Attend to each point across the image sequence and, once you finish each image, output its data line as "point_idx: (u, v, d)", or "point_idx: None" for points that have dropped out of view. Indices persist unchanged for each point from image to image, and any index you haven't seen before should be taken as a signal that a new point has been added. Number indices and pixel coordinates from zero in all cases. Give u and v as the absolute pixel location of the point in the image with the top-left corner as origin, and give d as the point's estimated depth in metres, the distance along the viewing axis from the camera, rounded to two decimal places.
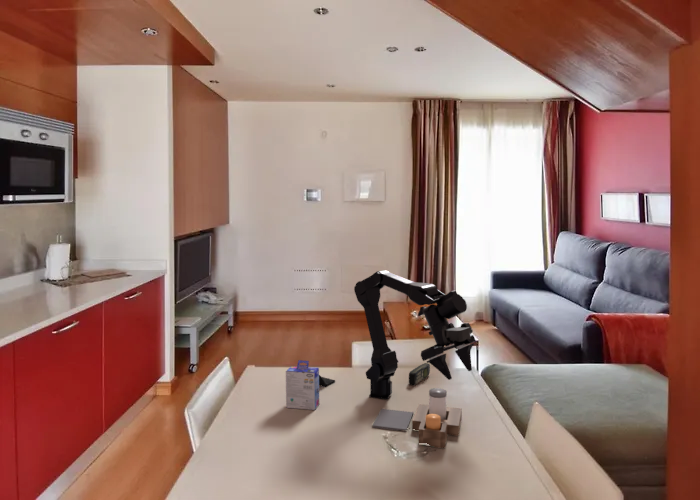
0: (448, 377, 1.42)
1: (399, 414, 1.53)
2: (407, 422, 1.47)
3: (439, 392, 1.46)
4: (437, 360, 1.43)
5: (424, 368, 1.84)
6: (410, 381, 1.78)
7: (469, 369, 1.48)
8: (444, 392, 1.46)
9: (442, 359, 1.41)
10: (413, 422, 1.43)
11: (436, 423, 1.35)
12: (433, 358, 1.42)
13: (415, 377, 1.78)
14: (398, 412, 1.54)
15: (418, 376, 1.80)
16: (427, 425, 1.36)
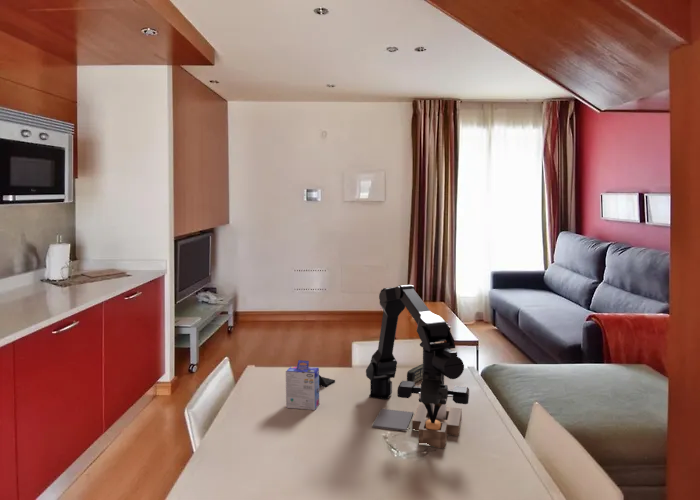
0: None
1: (399, 414, 1.53)
2: (407, 422, 1.47)
3: None
4: None
5: None
6: (408, 380, 1.79)
7: None
8: None
9: (424, 404, 1.35)
10: (413, 422, 1.43)
11: (436, 429, 1.35)
12: None
13: (413, 376, 1.79)
14: (398, 412, 1.54)
15: (416, 375, 1.81)
16: None
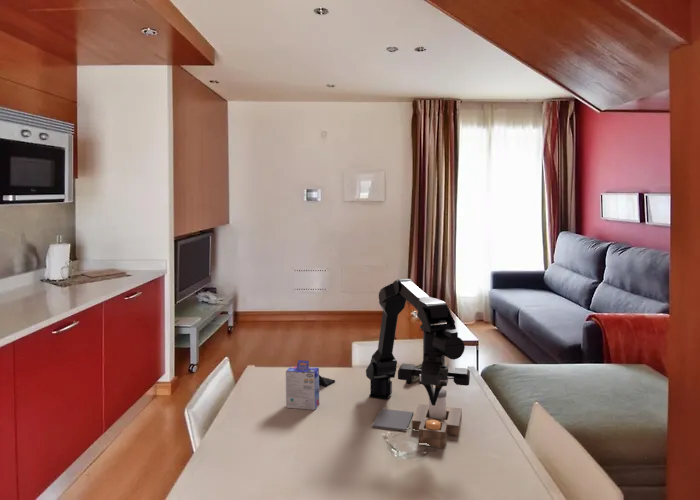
0: None
1: (399, 414, 1.53)
2: (407, 422, 1.47)
3: (439, 392, 1.46)
4: None
5: None
6: None
7: None
8: (444, 392, 1.46)
9: (425, 386, 1.34)
10: (413, 422, 1.43)
11: (436, 429, 1.35)
12: None
13: (412, 376, 1.80)
14: (398, 412, 1.54)
15: None
16: None
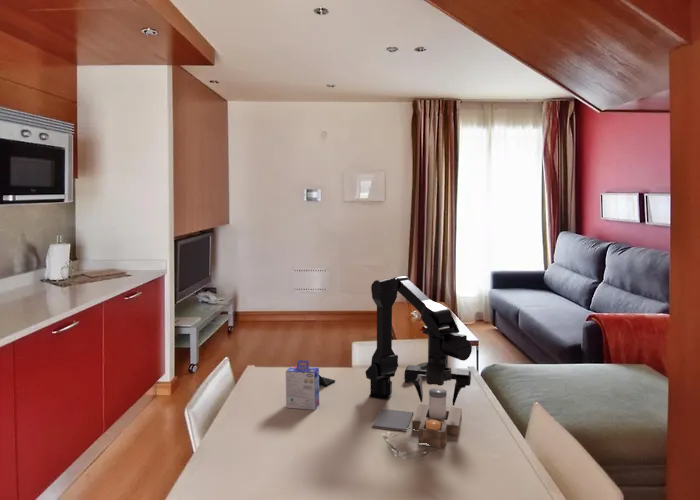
0: None
1: (399, 414, 1.53)
2: (407, 422, 1.47)
3: (439, 392, 1.46)
4: None
5: (423, 367, 1.85)
6: None
7: (453, 403, 1.46)
8: (444, 392, 1.46)
9: (414, 384, 1.46)
10: (413, 422, 1.43)
11: (436, 429, 1.35)
12: None
13: None
14: (398, 412, 1.54)
15: None
16: None
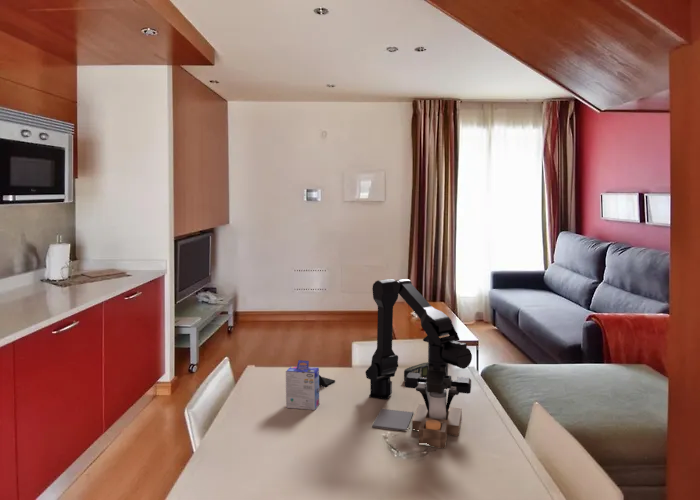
0: None
1: (399, 414, 1.53)
2: (407, 422, 1.47)
3: None
4: None
5: (423, 367, 1.85)
6: (404, 378, 1.82)
7: None
8: (444, 392, 1.46)
9: (421, 392, 1.46)
10: (413, 422, 1.43)
11: (436, 429, 1.35)
12: None
13: None
14: (398, 412, 1.54)
15: None
16: None
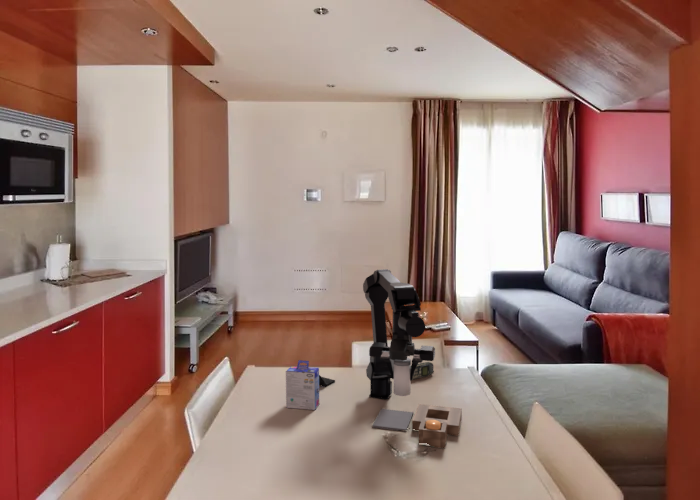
0: None
1: (399, 414, 1.53)
2: (407, 422, 1.47)
3: None
4: None
5: (423, 366, 1.86)
6: None
7: None
8: (408, 360, 1.47)
9: (385, 361, 1.47)
10: (413, 422, 1.43)
11: (436, 429, 1.35)
12: None
13: None
14: (398, 412, 1.54)
15: None
16: None
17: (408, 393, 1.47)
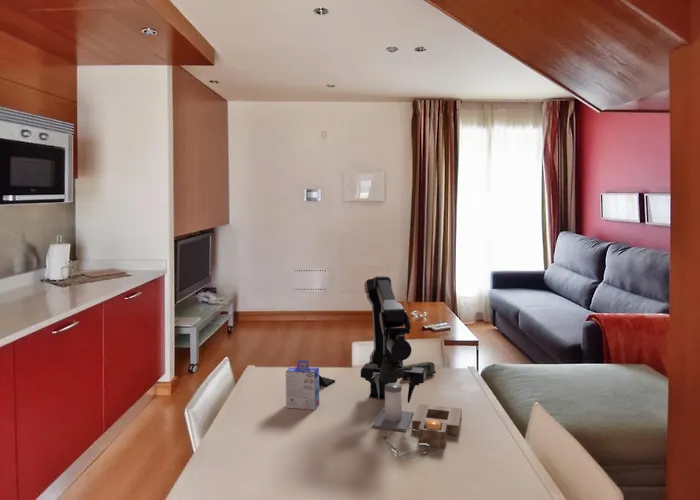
0: None
1: None
2: (407, 422, 1.47)
3: (394, 387, 1.48)
4: None
5: (423, 366, 1.86)
6: None
7: None
8: (399, 387, 1.48)
9: (370, 382, 1.49)
10: (413, 422, 1.43)
11: (436, 429, 1.35)
12: None
13: None
14: None
15: None
16: None
17: (399, 419, 1.48)
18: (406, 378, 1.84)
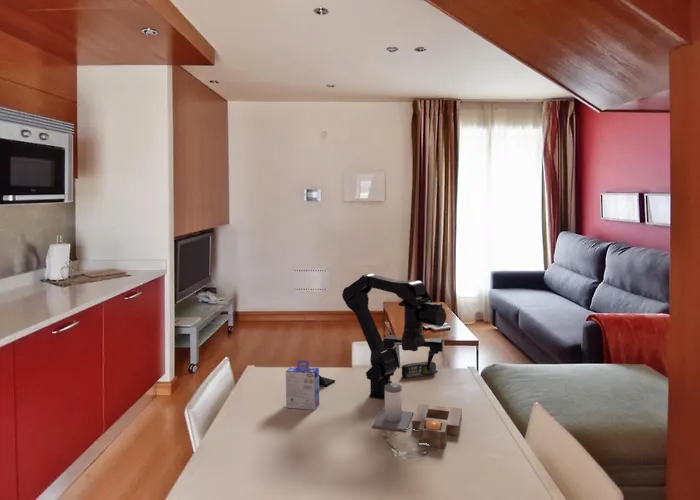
0: None
1: None
2: (407, 422, 1.47)
3: (394, 387, 1.48)
4: None
5: (423, 365, 1.87)
6: (402, 373, 1.86)
7: None
8: (399, 387, 1.48)
9: (392, 352, 1.59)
10: (413, 422, 1.43)
11: (436, 429, 1.35)
12: None
13: (406, 370, 1.85)
14: None
15: (412, 371, 1.86)
16: None
17: (399, 419, 1.48)
18: (405, 376, 1.85)
